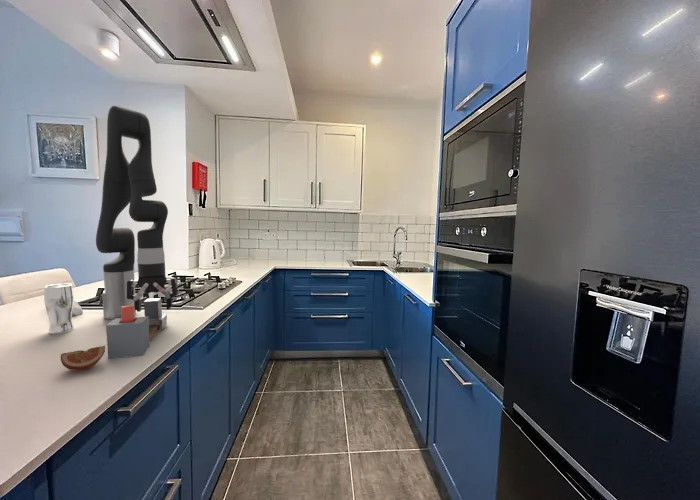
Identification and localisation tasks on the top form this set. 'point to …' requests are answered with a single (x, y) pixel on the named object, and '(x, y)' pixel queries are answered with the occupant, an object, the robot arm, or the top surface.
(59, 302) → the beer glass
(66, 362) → the fruit slice
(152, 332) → the rail
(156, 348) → the top surface
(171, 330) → the top surface
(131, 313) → the button
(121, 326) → the cabinet
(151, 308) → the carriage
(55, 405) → the top surface
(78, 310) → the crystal
